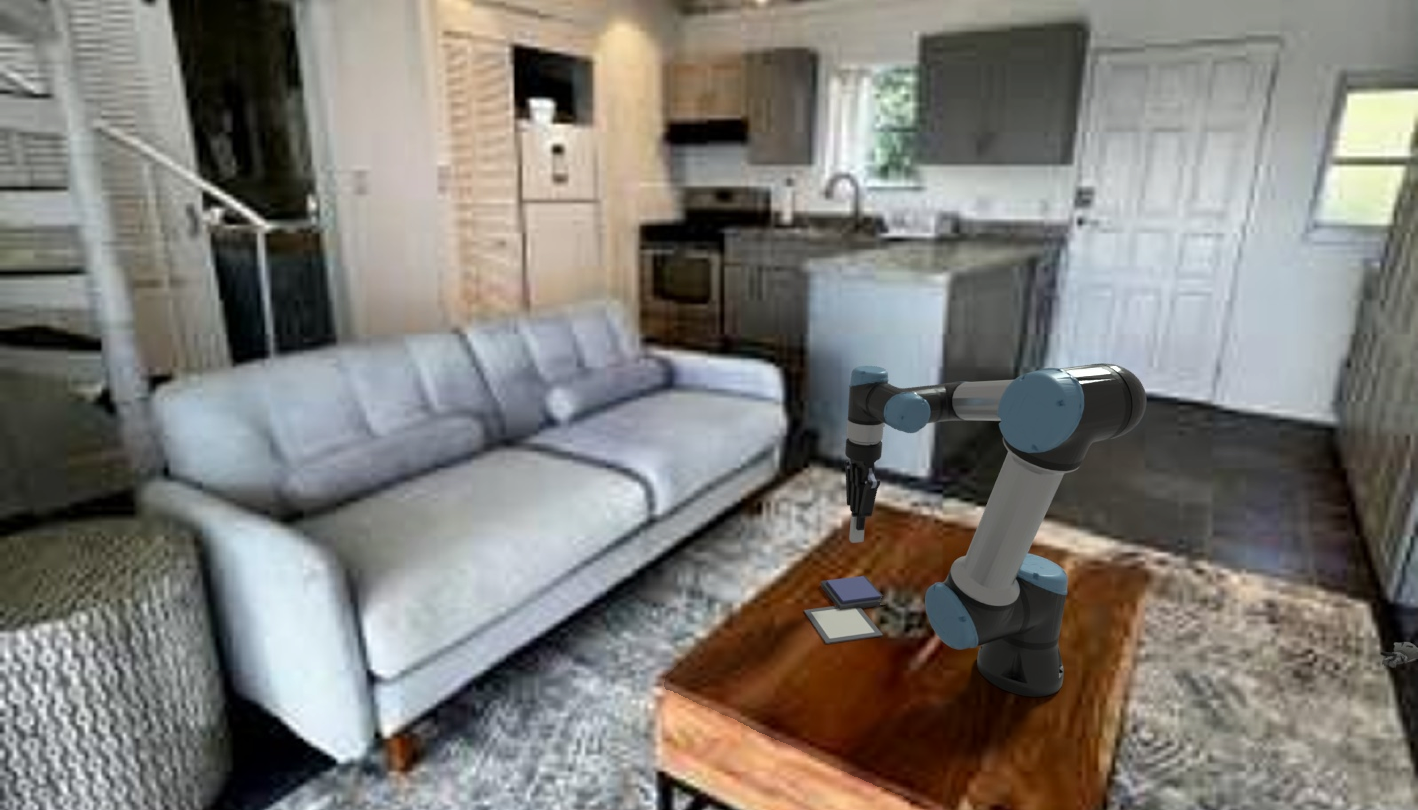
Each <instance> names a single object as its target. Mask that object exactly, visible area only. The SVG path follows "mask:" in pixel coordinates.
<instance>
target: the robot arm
mask: <svg viewBox="0 0 1418 810" xmlns="http://www.w3.org/2000/svg"><path fill="white" fill-rule="evenodd" d="M850 375H851V376H850V382H849V385H848V387H849V390H848V392H849V393H848V407H847V409H848V410H847V419H846V420H847V421H846V434H845V436H846V437H847V438H846V440H845V456H846V458H848V459H849V460H844V462H843V463H844V470H845V491H846V492H845V493H846V504H847V505H846V506H849V511H850V512H851V515H850V527H849V537H848V538H849V539H848V540H849V542H850V543H852V544H855V543H863V542H864V539H865V528H866V518H868V517H872V515H873V512H874V511H873V510H874V507H875V503H876V497H877V495H878V494H877V493H878V489H879V487H880V485H881V480H880V479H876V477H875V474H876V468H875V463H876V462H877V461H879V460H880V459H881V458H882V450H883V442H882V440H883V437H884V436H883V435H884V427H885V426H886V425H887V426H889V427H891V428H892V429H894V430H897V431H898V432H903V433H906V434H915V433H917V432H919V431H921V430H922V429H923V428H924V429H925V427H926V426H927V424H933V423H940V422H949V421H950V422H951V421H987V422H988V421H992V422H993V421H994V422H999V423H998V427H999V431H1000V432H1001V434H1002V436H1003V437H1002V443H1003V445H1004V447H1005V449H1006V450H1007V454H1006V457H1005V459H1004V461H1003V464H1002V466H1001V469H1000V472H999V473H998V477H997V478H996V481H995V483H994V486H993V488H992V491H991V493H990V495H989V498H988V500H987V504H986V505H985V508H984V510H983V513H982V515H981V518H980V520H979V522H978V525H977V527H976V529H975V530H976V531H975V532H974V535H973V537H972V540H971V542H970V544H969V547H968V550H967V552H966V555H963V556H960V557H958V558H957V559H956V560H954V562H953V563H952V564H951V567H950V569H949V571H948V574H947V576H946V578H945V580H944V581H943V582H941V581H938V582H935V583H934V584H931V585H930V586H929V587H928V588H927V590H926V592H925V597H924V604H925V605H924V608H925V613H926V615H927V618H928V621H929V624H930V625H931V628H932V629H933V631H934V633H935V634H936V636H937V637H938V638H939V639H940V640H941V641H942V642H943V643H944V644H945V645H947V646H948V647H950V648H952V649H955V650H958V651H960V650H966V649H969V648H970V649H976V648H977V647H979V648H978V653H977V659H976V666H977V669H978V671H979V673H980V674H981V675H982V677H984V678H985V679H986V680H987V681H988V682H990V683H991V684H993V686H995V687H997V688H999V689H1001V690H1003V691H1007V692H1009V693H1012V694H1015V695H1018V696H1024V697H1030V698H1031V697H1035V698H1036V697H1037V698H1038V697H1041V698H1042V697H1046V696H1047V697H1048V696H1050V695H1054V694H1056V693H1057V692H1058V691H1059V690H1061V687H1062V686H1063V681H1064V676H1065V675H1064V674H1065V672H1064V665H1063V660H1062V656H1061V651H1060V647H1059V640H1060V633H1061V629H1062V628H1061V627H1062V621H1063V616H1064V610H1065V603H1066V598H1067V595H1068V580H1069V579H1068V575H1067V573H1066V571H1065V569H1063V567H1061V566H1060V565H1059V564H1057V563H1056V562H1055V561H1054V562H1053V561H1052V560H1050V559H1047V558H1045V557H1042V556H1040V555H1037V554H1033V553H1029V551H1030V549H1031V547H1032V544H1033V542H1034V540H1035V538H1036V536H1037V533H1038V531H1039V529H1040V527H1041V525H1042V523H1043V520H1044V519H1045V516H1046V514H1047V512H1048V510H1049V507H1050V505H1051V504H1052V501H1053V499H1054V497H1055V495H1056V493H1057V490H1058V488H1059V486H1060V484H1061V482H1062V479H1063V477H1064V475H1065V474H1068V473H1072V472H1074V471H1077V470H1078V469H1079V468H1080V467H1081V465H1082V463H1083V461H1084V459H1085V457H1086V455H1087V453H1088V450H1089V448H1090V447H1091V445H1092V444H1093V443H1096V442H1103V441H1107V440H1112V439H1117V438H1118V437H1123V436H1124V435H1126V434H1127V433H1129V432H1131V431H1132V430H1133V429H1134V428H1135V427H1137V426H1138V424H1139V423H1140V422H1141V420H1142V419H1143V416H1144V415H1145V412H1146V409H1147V393H1146V390H1145V387H1144V384H1143V383H1142V382H1141V380H1140V378H1138V376H1136V374H1134V373H1133V372H1132V371H1131V370H1129V369H1127V368H1125V367H1123V366H1120V365H1116V364H1114V363H1092V364H1085V365H1078V366H1070V367H1069V366H1068V367H1060V368H1059V367H1046V368H1041V369H1038V370H1035V371H1031V372H1027V373H1024V374H1021V375H1019V376H1018V377H1016V378H1015V379H1004V380H1003V379H1002V380H986V381H985V380H984V381H962V380H961V381H960V380H959V381H952V382H946V383H941V384H940V383H939V384H931V385H922V386H921V385H920V386H912V387H902V388H901V387H897V386H895V385H892V384H891V383H889V372H888V371H887V369H885V368H883V367H881V366H876V365H860V366H856V367H855V368H853V369H852V371H851V374H850Z"/></svg>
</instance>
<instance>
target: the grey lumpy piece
mask: <svg viewBox="0 0 1418 810" xmlns="http://www.w3.org/2000/svg"><path fill="white" fill-rule="evenodd" d="M1393 645H1394V648H1393V652H1388V651H1380V656H1383V657H1386V658H1384V659H1383V660H1382V661H1381V665H1383V666H1384V667H1390V668H1391V669H1396V667H1397V665H1402V664H1408V663H1412V662H1413V663H1414V664H1415V662H1417V661H1418V647H1417V646H1416V645H1415V644H1414V643H1411V642H1410V641H1402V642H1394V643H1393Z"/></svg>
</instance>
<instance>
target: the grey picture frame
mask: <svg viewBox="0 0 1418 810" xmlns="http://www.w3.org/2000/svg"><path fill="white" fill-rule="evenodd" d="M803 612H804V614H805V616H806V617H807V618H808V620H809V621H810V622H811V625H813V627H814V628H815V630H816V631H817V633H818V635H820V638H821V639H822V640H823V642H824V643H825V644H826V645H831V644H836V643H842V642H843V643H844V642H850V641H858V640H865V639H871V638H878V637H883V635H884V634H883V633H882V631H881V630H880V629H879V628H878V627H877V626H876V624H875V623H874V622H873V621H872V620H871V618H870V617H869V616H868V614H867V613H866V612H865V611H864V610H863V608H860V607H858V608H851V609H843V610H840V609H839V608H838V606H836V605H833V606H826V607H817V608H811V609H808V608H807V609H804V610H803Z"/></svg>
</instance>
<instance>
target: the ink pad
mask: <svg viewBox="0 0 1418 810" xmlns="http://www.w3.org/2000/svg"><path fill="white" fill-rule="evenodd" d="M820 587H821V588H822V590H823V591H824V592H825V594H826V595H827V596H828V597H829V599H830V600H831V601H832V602H833V604H834V606H838V608H839V609H840V610H843V609H851V608H858V607H860V608H861V609H866V608H874V607H875V608H876V607H881V606H880V603H881V602H878V601H879V600H881V598H882V596H884V595H883V594H882V593H881V592H880V590H879V589H878V588H877V587H876V586H875V584H873V583H872V582H871V580H870V579H869V578H868V577H867V576H866V575H859V576H852V577H844V578H842V577H841V578H836V579H835V578H833V579H827V580H821V581H820Z"/></svg>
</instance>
